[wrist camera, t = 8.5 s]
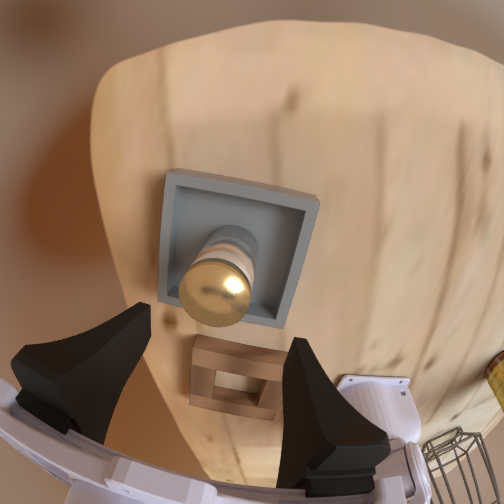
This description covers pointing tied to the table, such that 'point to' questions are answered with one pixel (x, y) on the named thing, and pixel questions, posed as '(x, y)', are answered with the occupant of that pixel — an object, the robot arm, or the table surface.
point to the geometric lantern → (489, 467)
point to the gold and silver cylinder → (221, 278)
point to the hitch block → (242, 363)
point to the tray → (241, 214)
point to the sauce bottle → (497, 378)
